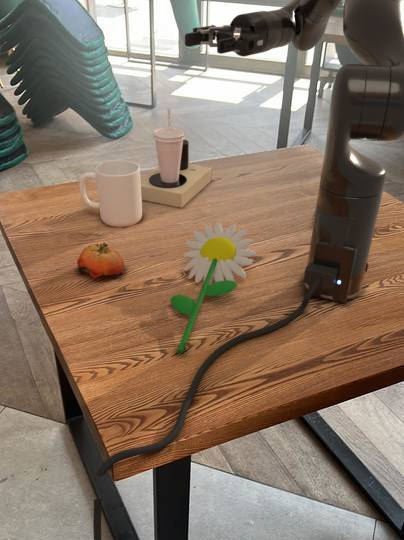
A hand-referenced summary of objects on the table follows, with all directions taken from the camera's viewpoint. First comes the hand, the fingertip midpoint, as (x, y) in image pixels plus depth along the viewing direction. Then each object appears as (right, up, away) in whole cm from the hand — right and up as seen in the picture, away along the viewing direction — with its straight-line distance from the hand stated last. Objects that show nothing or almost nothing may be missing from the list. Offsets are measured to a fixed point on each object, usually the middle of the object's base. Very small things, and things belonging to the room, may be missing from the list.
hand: (202, 43), depth 109 cm
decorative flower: (+1, -51, -18) cm, 54 cm away
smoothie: (-7, -22, +12) cm, 26 cm away
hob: (-6, -23, +16) cm, 29 cm away
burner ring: (-7, -22, +12) cm, 26 cm away
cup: (-18, -32, +5) cm, 37 cm away
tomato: (-17, -45, -12) cm, 50 cm away
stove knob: (-5, -17, +18) cm, 26 cm away
